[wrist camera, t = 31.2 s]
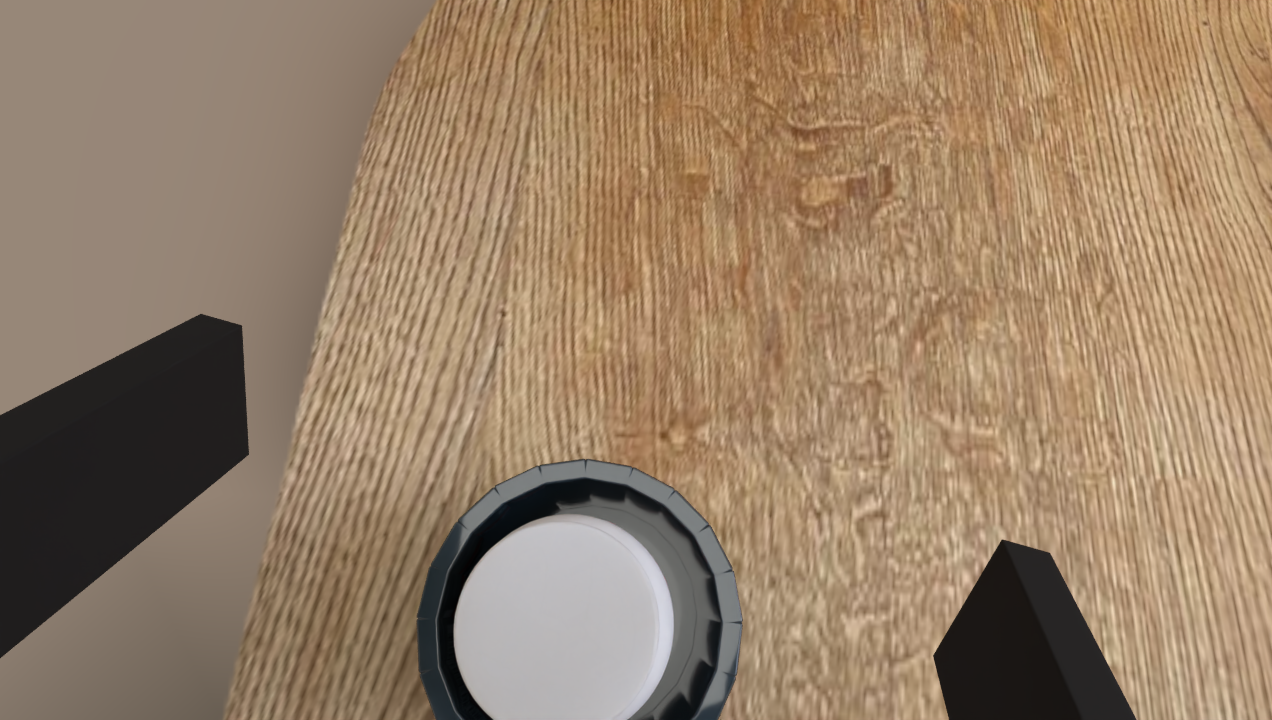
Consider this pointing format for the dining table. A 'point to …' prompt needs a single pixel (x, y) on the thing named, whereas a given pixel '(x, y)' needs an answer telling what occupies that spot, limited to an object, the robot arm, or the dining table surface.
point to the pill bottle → (564, 623)
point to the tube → (654, 517)
